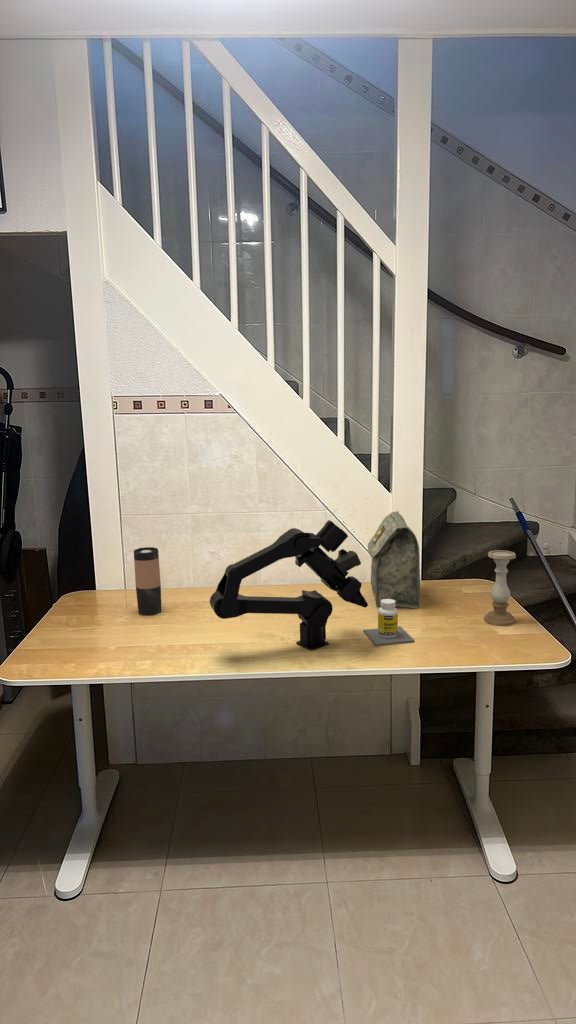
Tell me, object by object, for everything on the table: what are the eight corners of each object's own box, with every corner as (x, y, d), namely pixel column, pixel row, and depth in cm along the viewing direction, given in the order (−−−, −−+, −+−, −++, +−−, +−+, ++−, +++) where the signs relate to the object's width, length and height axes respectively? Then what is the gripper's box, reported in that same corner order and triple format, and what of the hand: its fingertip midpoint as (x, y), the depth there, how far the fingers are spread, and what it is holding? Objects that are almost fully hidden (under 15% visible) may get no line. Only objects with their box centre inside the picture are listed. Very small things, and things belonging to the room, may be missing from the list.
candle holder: (518, 626, 196) (521, 557, 192) (487, 626, 197) (489, 557, 193) (511, 615, 205) (513, 549, 201) (481, 615, 205) (482, 549, 202)
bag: (366, 588, 235) (365, 509, 230) (413, 588, 234) (414, 509, 229) (371, 610, 213) (371, 523, 208) (424, 610, 212) (425, 522, 207)
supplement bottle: (383, 639, 187) (383, 605, 185) (374, 632, 192) (374, 599, 190) (401, 636, 189) (401, 602, 187) (392, 630, 194) (392, 596, 192)
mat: (375, 646, 184) (375, 643, 184) (363, 631, 195) (363, 629, 195) (414, 642, 186) (414, 640, 186) (400, 628, 197) (400, 626, 197)
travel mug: (165, 608, 220) (161, 547, 216) (158, 616, 213) (154, 553, 209) (141, 607, 221) (137, 547, 217) (134, 615, 213) (129, 553, 210)
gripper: (354, 548, 175) (394, 588, 179) (331, 536, 193) (368, 572, 197) (324, 581, 174) (365, 620, 178) (304, 565, 192) (342, 601, 196)
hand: (360, 601), depth 187 cm, fingers open, 9 cm apart
